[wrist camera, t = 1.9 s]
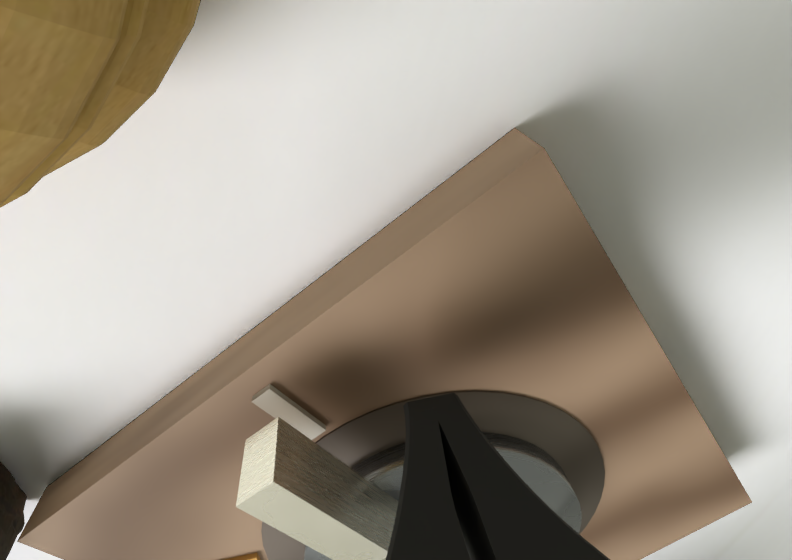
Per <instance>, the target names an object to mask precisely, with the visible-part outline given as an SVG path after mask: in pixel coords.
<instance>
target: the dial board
mask: <svg viewBox="0 0 792 560" xmlns="http://www.w3.org/2000/svg"><path fill="white" fill-rule="evenodd" d="M449 393H455V394H456V395H458V397H459V398H460V400H461V402H462V403H463V405H464V407H465V408H466V410H467V411H468V413H469V414H470V416H471V417H472V419H473V420H474V422H475V423H476V424H477V426H478V427H479V428H480V430H481V431H482V432H489V433H496V434H503V435H508V436H511V437H515V438H519V439H522V440H524V441H527V442H529V443H532V444H534V445H536V446H538V447H539V448H541V449H543V450H544V451H546V452H547V453H548V454H549V455H551V456H552V457H553V458H554V459H555V460H556V461H557V462H558V464H559V465H560V466H561V468H562V469H563V471H564V473H565V475H566V477H567V479H568V481H569V483H570V485H571V486H572V488H573V490H574V492H575V494H576V496H577V499H578V501H579V503H580V508H581V512H582V514H581V527H580V531H579V534H580V535H581V536H582V537H583V538H584V539H586V540H587V541H588V542H589V543H590V544H592V545H593V546H594V547H595V548H597V549H598V550H599V551H600V552H602V553H603V554H604V555H605V556H606V557H608V558H609V559H610V560H640V559H642V558H644V557H646V556H648V555H650V554H652V553H654V552H656V551H658V550H660V549H662V548H664V547H666V546H668V545H670V544H671V543H673V542H675V541H677V540H679V539H681V538H683V537H685V536H687V535H689V534H691V533H693V532H695V531H697V530H699V529H701V528H703V527H705V526H707V525H709V524H711V523H713V522H714V521H716V520H718V519H720V518H722V517H724V516H726V515H728V514H730V513H732V512H734V511H736V510H738V509H740V508H742V507H744V506H746V505H748V504H750V503H752V501H751V499H750V498H749V496H748V494H747V493H746V491H745V489H744V488H743V486H742V484H741V482H740V481H739V479H738V477H737V476H736V474H735V472H734V470H733V469H732V467H731V465H730V464H729V462H728V460H727V459H726V457H725V455H724V453H723V452H722V450H721V448H720V447H719V445H718V443H717V442H716V440H715V438H714V436H713V435H712V433H711V431H710V430H709V428H708V426H707V424H706V423H705V421H704V419H703V418H702V416H701V414H700V413H699V411H698V409H697V407H696V406H695V404H694V402H693V401H692V399H691V397H690V396H689V394H688V392H687V390H686V389H685V387H684V385H683V384H682V382H681V380H680V378H679V377H678V375H677V373H676V372H675V370H674V368H673V367H672V365H671V363H670V361H669V360H668V358H667V356H666V355H665V353H664V351H663V350H662V348H661V346H660V344H659V343H658V341H657V339H656V338H655V336H654V334H653V332H652V331H651V329H650V327H649V326H648V324H647V322H646V321H645V319H644V317H643V315H642V314H641V312H640V310H639V309H638V307H637V305H636V303H635V302H634V300H633V298H632V297H631V295H630V293H629V292H628V290H627V288H626V286H625V285H624V283H623V281H622V280H621V278H620V276H619V275H618V273H617V271H616V269H615V268H614V266H613V264H612V263H611V261H610V259H609V257H608V256H607V254H606V252H605V251H604V249H603V247H602V246H601V244H600V242H599V240H598V239H597V237H596V235H595V234H594V232H593V230H592V229H591V227H590V225H589V223H588V222H587V220H586V218H585V217H584V215H583V213H582V211H581V210H580V208H579V206H578V205H577V203H576V201H575V200H574V198H573V196H572V194H571V193H570V191H569V189H568V188H567V186H566V184H565V183H564V181H563V179H562V177H561V176H560V174H559V172H558V171H557V169H556V167H555V165H554V164H553V162H552V160H551V159H550V157H549V155H548V154H547V152H546V150H545V148H543V147H542V146H540V145H539V144H537V143H536V142H535V141H533V140H532V139H530V138H529V137H527V136H526V135H524V134H523V133H521V132H520V131H519V130H517V129H516V128H514V129H513V130H511V131H510V132H509V133H507V134H506V135H505V136H503V137H502V138H501V139H500V140H498V141H497V142H496V143H494V144H493V145H492V146H490V147H489V148H488V149H487V150H485V151H484V152H483V153H481V154H480V155H479V156H477V157H476V158H475V159H473V160H472V161H471V162H470V163H468V164H467V165H466V166H464V167H463V168H462V169H460V170H459V171H458V172H457V173H455V174H454V175H453V176H451V177H450V178H449V179H447V180H446V181H445V182H444V183H442V184H441V185H440V186H438V187H437V188H436V189H434V190H433V191H432V192H431V193H429V194H428V195H427V196H425V197H424V198H423V199H421V200H420V201H419V202H417V203H416V204H415V205H414V206H412V207H411V208H410V209H408V210H407V211H406V212H404V213H403V214H402V215H401V216H399V217H398V218H397V219H395V220H394V221H393V222H391V223H390V224H389V225H388V226H386V227H385V228H384V229H382V230H381V231H380V232H378V233H377V234H376V235H375V236H373V237H372V238H371V239H369V240H368V241H367V242H365V243H364V244H363V245H361V246H360V247H359V248H358V249H356V250H355V251H354V252H352V253H351V254H350V255H348V256H347V257H346V258H345V259H343V260H342V261H341V262H339V263H338V264H337V265H335V266H334V267H333V268H332V269H330V270H329V271H328V272H326V273H325V274H324V275H322V276H321V277H320V278H319V279H317V280H316V281H315V282H313V283H312V284H311V285H309V286H308V287H307V288H306V289H304V290H303V291H302V292H300V293H299V294H298V295H296V296H295V297H294V298H292V299H291V300H290V301H289V302H287V303H286V304H285V305H283V306H282V307H281V308H279V309H278V310H277V311H276V312H274V313H273V314H272V315H270V316H269V317H268V318H266V319H265V320H264V321H263V322H261V323H260V324H259V325H257V326H256V327H255V328H253V329H252V330H251V331H250V332H248V333H247V334H246V335H244V336H243V337H242V338H240V339H239V340H238V341H236V342H235V343H234V344H233V345H231V346H230V347H229V348H227V349H226V350H225V351H223V352H222V353H221V354H220V355H218V356H217V357H216V358H214V359H213V360H212V361H210V362H209V363H208V364H207V365H205V366H204V367H203V368H201V369H200V370H199V371H197V372H196V373H195V374H194V375H192V376H191V377H190V378H188V379H187V380H186V381H184V382H183V383H182V384H181V385H179V386H178V387H177V388H175V389H174V390H173V391H171V392H170V393H169V394H167V395H166V396H165V397H164V398H162V399H161V400H160V401H158V402H157V403H156V404H154V405H153V406H152V407H151V408H149V409H148V410H147V411H145V412H144V413H143V414H141V415H140V416H139V417H138V418H136V419H135V420H134V421H132V422H131V423H130V424H128V425H127V426H126V427H125V428H123V429H122V430H121V431H119V432H118V433H117V434H115V435H114V436H113V437H111V438H110V439H109V440H108V441H106V442H105V443H104V444H102V445H101V446H100V447H98V448H97V449H96V450H95V451H93V452H92V453H91V454H89V455H88V456H87V457H85V458H84V459H83V460H82V461H80V462H79V463H78V464H76V465H75V466H74V467H72V468H71V469H70V470H69V471H67V472H66V473H65V474H63V475H62V476H61V477H59V478H58V479H57V480H55V481H54V482H53V483H52V484H50V485H49V486H48V487H46V489H45V491H44V493H43V495H42V496H41V498H40V500H39V502H38V504H37V506H36V508H35V509H34V511H33V513H32V515H31V517H30V519H29V521H28V522H27V524H26V526H25V528H24V530H23V532H22V534H21V536H20V537H19V539H18V542H20V543H23V544H25V545H28V546H30V547H33V548H35V549H38V550H41V551H43V552H46V553H48V554H51V555H53V556H56V557H59V558H61V559H64V560H304V544H303V543H301V542H299V541H297V540H296V539H294V538H292V537H290V536H288V535H286V534H285V533H283V532H281V531H279V530H277V529H275V528H274V527H272V526H270V525H268V524H266V523H264V522H263V521H261V520H259V519H257V518H255V517H253V516H252V515H250V514H248V513H246V512H244V511H242V510H241V509H239V508H237V507H236V502H237V495H238V488H239V482H240V475H241V468H242V462H243V455H244V448H245V442H246V439H248V438H249V437H251V436H252V435H253V434H255V433H256V432H258V431H259V430H260V429H262V428H263V427H265V426H266V425H268V424H269V423H270V422H272V421H273V420H275V419H276V418H278V417H280V418H281V419H282V420H284V421H285V422H287V423H288V424H289V425H291V426H292V427H294V428H295V429H297V430H298V431H299V432H301V433H302V434H304V435H305V436H307V437H308V438H309V439H311V440H312V441H314V442H315V443H316V444H318V445H319V446H321V447H322V448H324V449H325V450H326V451H328V452H329V453H331V454H332V455H334V456H335V457H336V458H338V459H339V460H341V461H342V462H343V463H345V464H346V465H348V466H349V467H351V468H352V467H354V466H355V465H357V464H358V463H360V462H362V461H364V460H365V459H367V458H369V457H371V456H373V455H375V454H377V453H379V452H381V451H384V450H386V449H388V448H390V447H393V446H396V445H399V444H402V443H405V437H406V425H405V413H404V407H403V406H404V405H405V404H406V403H407V402H409V401H414V400H419V399H424V398H429V397H434V396H439V395H444V394H449Z"/></svg>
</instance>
